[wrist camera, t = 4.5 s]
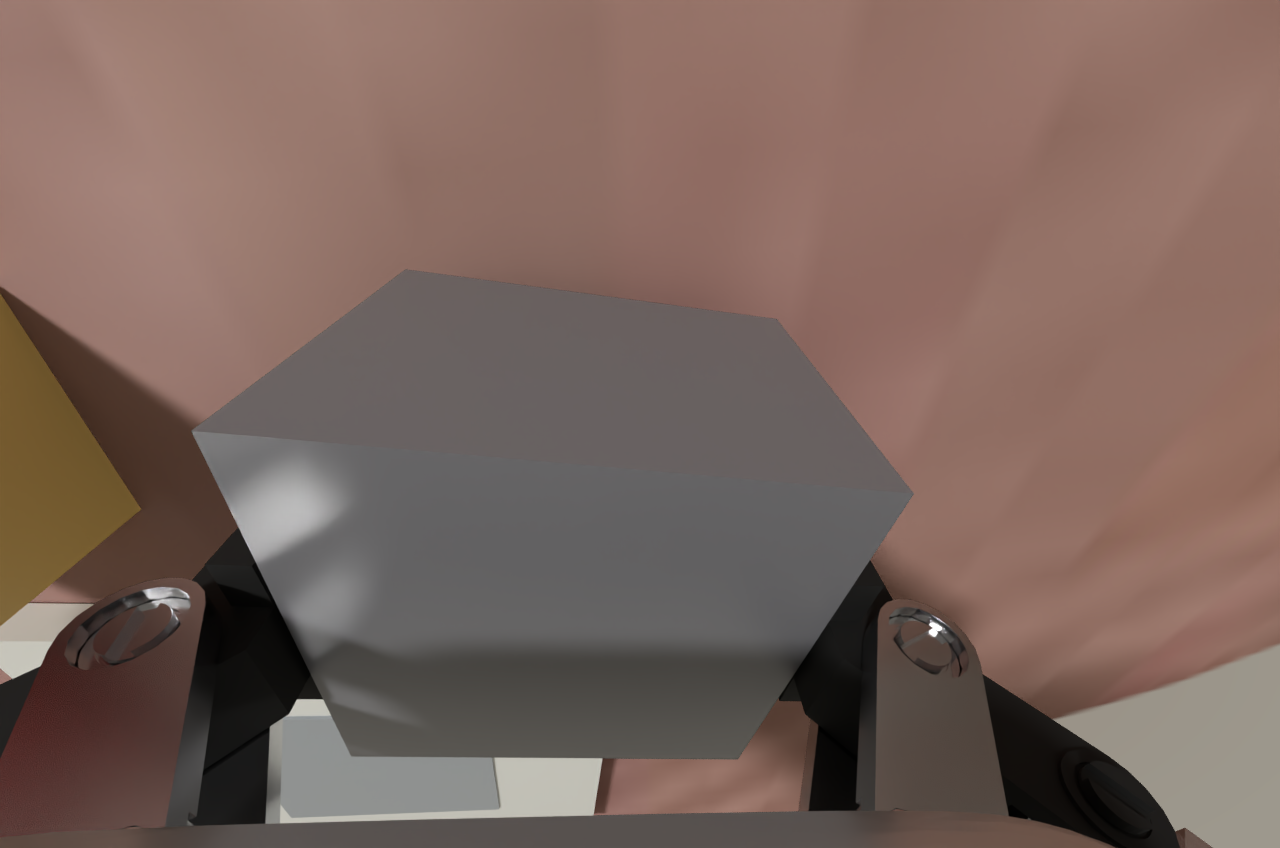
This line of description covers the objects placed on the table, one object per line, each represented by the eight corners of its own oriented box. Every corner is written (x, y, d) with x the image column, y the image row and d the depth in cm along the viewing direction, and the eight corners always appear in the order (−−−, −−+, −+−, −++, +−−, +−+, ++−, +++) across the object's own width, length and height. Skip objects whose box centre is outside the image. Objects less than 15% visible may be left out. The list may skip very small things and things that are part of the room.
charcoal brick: (776, 319, 9) (913, 493, 5) (698, 552, 13) (737, 759, 9) (405, 269, 8) (190, 430, 4) (441, 535, 12) (350, 756, 8)
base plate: (619, 609, 16) (621, 645, 14) (590, 806, 25) (590, 837, 24) (14, 603, 13) (-36, 644, 12) (237, 821, 23) (219, 855, 22)
